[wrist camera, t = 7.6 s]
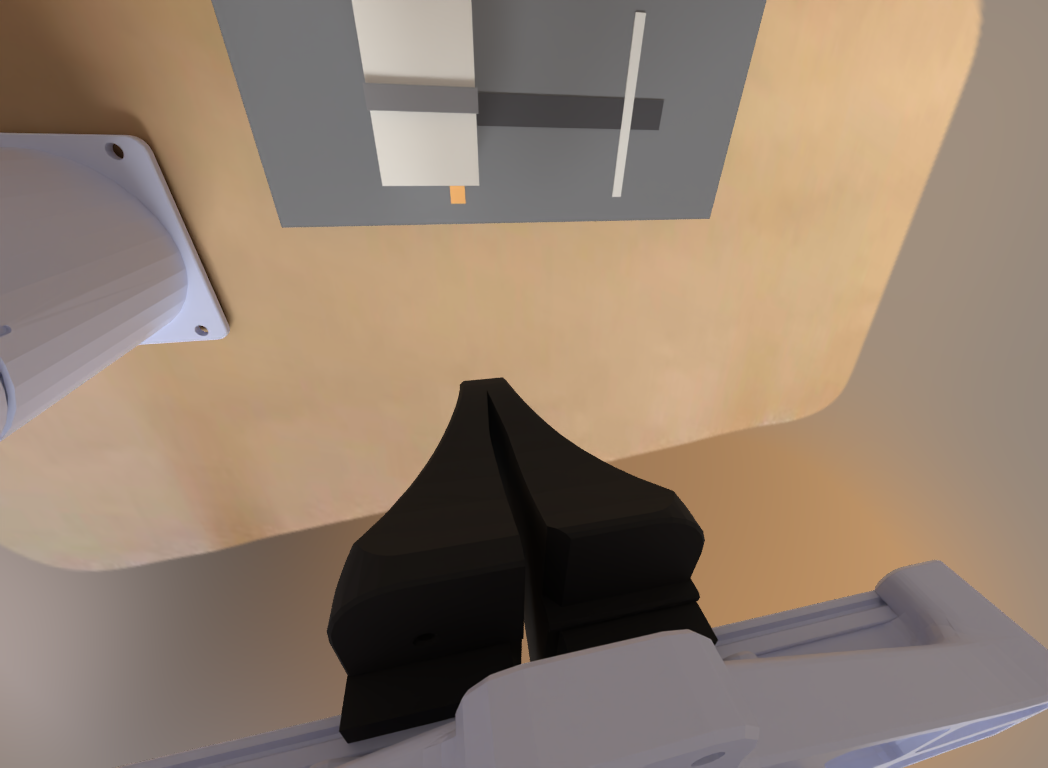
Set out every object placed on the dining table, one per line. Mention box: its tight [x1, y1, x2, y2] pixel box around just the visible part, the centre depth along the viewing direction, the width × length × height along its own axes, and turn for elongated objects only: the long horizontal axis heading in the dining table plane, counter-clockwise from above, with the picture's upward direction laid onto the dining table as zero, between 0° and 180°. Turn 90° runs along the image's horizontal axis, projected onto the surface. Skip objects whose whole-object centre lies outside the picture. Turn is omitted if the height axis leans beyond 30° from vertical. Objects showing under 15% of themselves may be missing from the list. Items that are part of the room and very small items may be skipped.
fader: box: [352, 0, 479, 186], centre depth 12 cm, size 3×4×4 cm
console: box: [211, 0, 766, 227], centre depth 15 cm, size 19×8×2 cm, turn 89°
